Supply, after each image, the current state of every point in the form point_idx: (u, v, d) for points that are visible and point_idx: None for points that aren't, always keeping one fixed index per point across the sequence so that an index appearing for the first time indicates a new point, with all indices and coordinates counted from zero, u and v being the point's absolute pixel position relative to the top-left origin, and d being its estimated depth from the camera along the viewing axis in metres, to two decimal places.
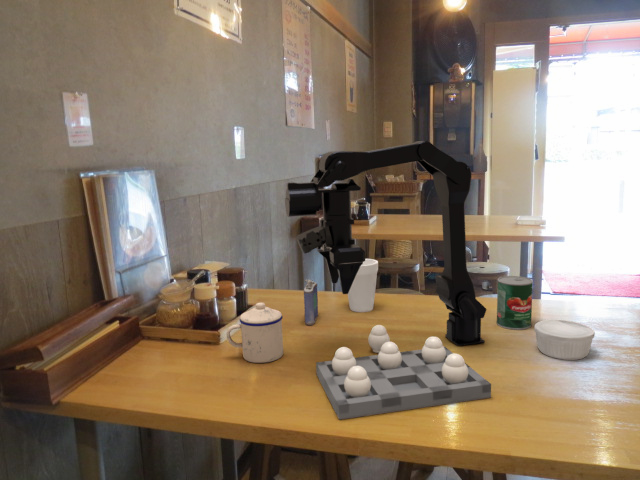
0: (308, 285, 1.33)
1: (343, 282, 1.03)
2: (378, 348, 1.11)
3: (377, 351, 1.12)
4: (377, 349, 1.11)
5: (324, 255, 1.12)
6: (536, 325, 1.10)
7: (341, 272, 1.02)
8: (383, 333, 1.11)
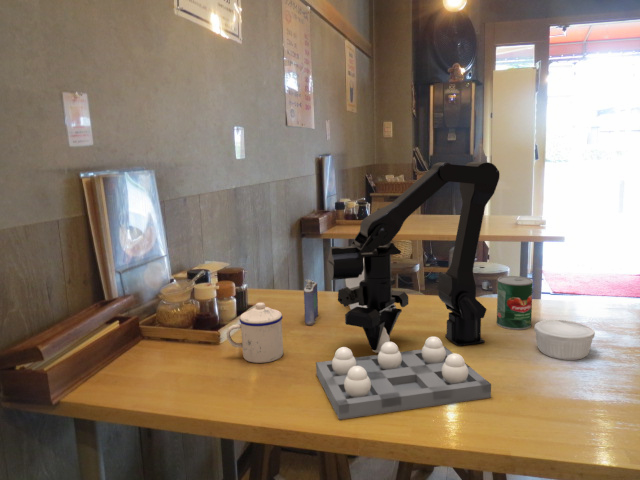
0: (308, 285, 1.33)
1: (369, 338, 1.10)
2: (378, 348, 1.11)
3: (377, 351, 1.12)
4: (377, 349, 1.11)
5: None
6: (536, 325, 1.10)
7: (365, 329, 1.09)
8: (383, 333, 1.11)
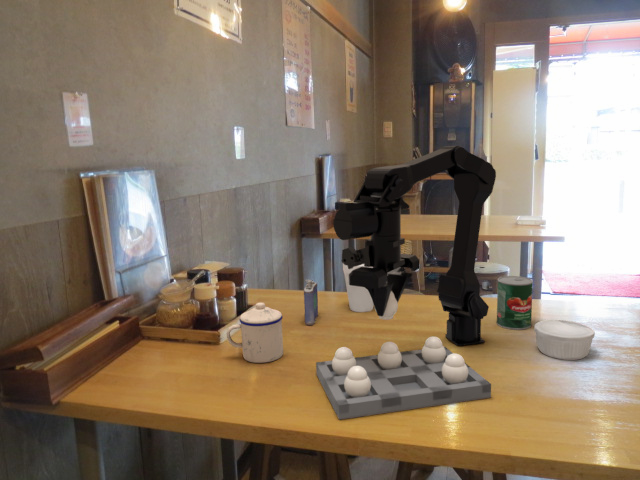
0: (308, 285, 1.33)
1: (375, 303, 1.00)
2: (385, 314, 1.01)
3: (384, 317, 1.02)
4: (384, 315, 1.01)
5: None
6: (536, 325, 1.10)
7: (371, 292, 0.99)
8: (391, 297, 1.01)
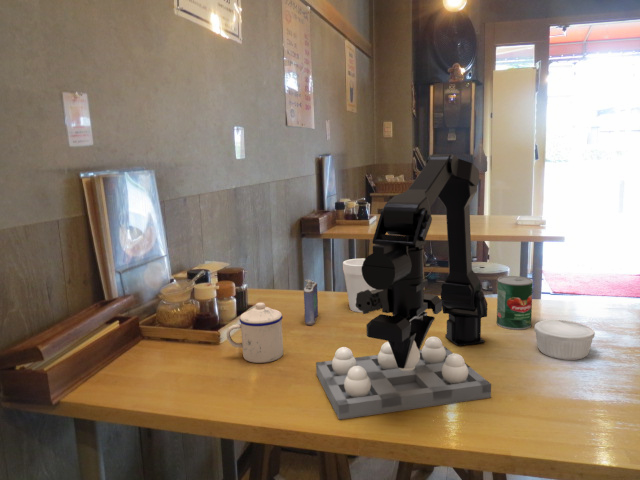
0: (308, 285, 1.33)
1: (395, 354, 0.88)
2: (406, 365, 0.89)
3: (404, 369, 0.90)
4: (405, 367, 0.89)
5: None
6: (536, 325, 1.10)
7: (391, 342, 0.87)
8: (412, 347, 0.89)
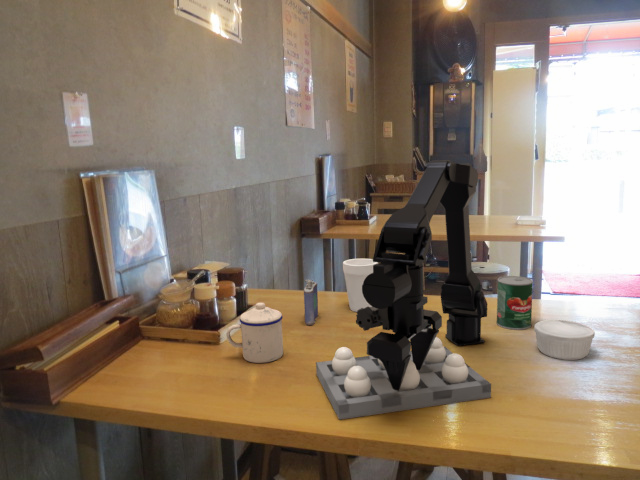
0: (308, 285, 1.33)
1: (390, 376, 0.87)
2: (406, 389, 0.90)
3: None
4: (405, 390, 0.90)
5: None
6: (536, 325, 1.10)
7: (385, 364, 0.86)
8: (412, 370, 0.90)
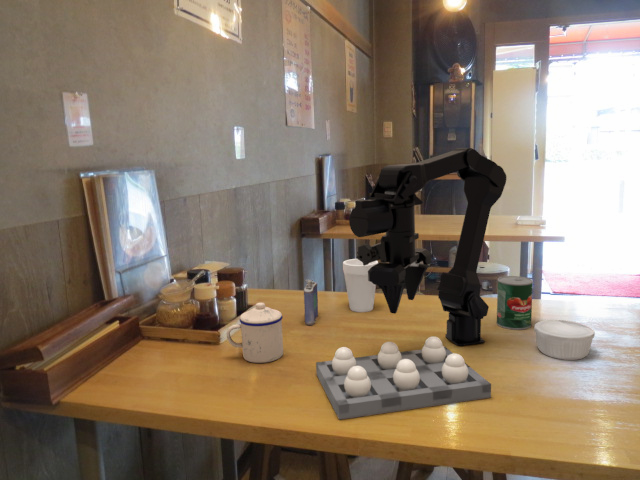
0: (308, 285, 1.33)
1: (388, 301, 1.00)
2: (406, 388, 0.90)
3: None
4: (404, 389, 0.90)
5: None
6: (536, 325, 1.10)
7: (384, 290, 1.00)
8: (412, 369, 0.90)
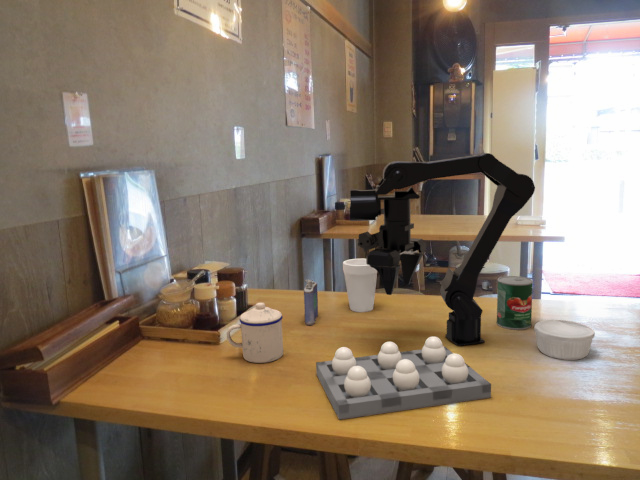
0: (308, 285, 1.33)
1: (384, 283, 1.11)
2: (404, 388, 0.90)
3: None
4: (403, 390, 0.90)
5: None
6: (536, 325, 1.10)
7: (380, 273, 1.11)
8: (410, 370, 0.90)
